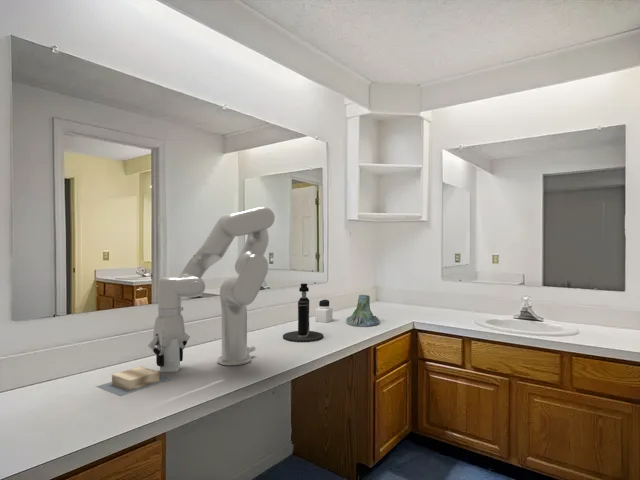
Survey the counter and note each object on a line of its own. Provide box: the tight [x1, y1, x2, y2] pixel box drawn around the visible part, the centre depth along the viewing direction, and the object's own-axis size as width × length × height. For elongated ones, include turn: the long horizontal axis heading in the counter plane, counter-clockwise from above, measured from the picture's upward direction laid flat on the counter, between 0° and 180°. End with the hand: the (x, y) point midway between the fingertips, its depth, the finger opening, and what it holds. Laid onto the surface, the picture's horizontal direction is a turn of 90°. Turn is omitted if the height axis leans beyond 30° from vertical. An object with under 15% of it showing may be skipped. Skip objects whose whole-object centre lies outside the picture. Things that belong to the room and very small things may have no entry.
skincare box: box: [159, 338, 181, 373], centre depth 144 cm, size 6×4×12 cm
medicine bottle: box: [315, 299, 333, 324], centre depth 233 cm, size 7×7×12 cm
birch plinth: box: [111, 366, 160, 390], centre depth 132 cm, size 10×10×3 cm
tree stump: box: [345, 294, 380, 328], centre depth 229 cm, size 18×20×18 cm
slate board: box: [95, 373, 174, 397], centre depth 132 cm, size 18×14×1 cm
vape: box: [282, 283, 324, 343], centre depth 195 cm, size 19×19×25 cm
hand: (169, 362), depth 144 cm, fingers closed on skincare box, 6 cm apart
